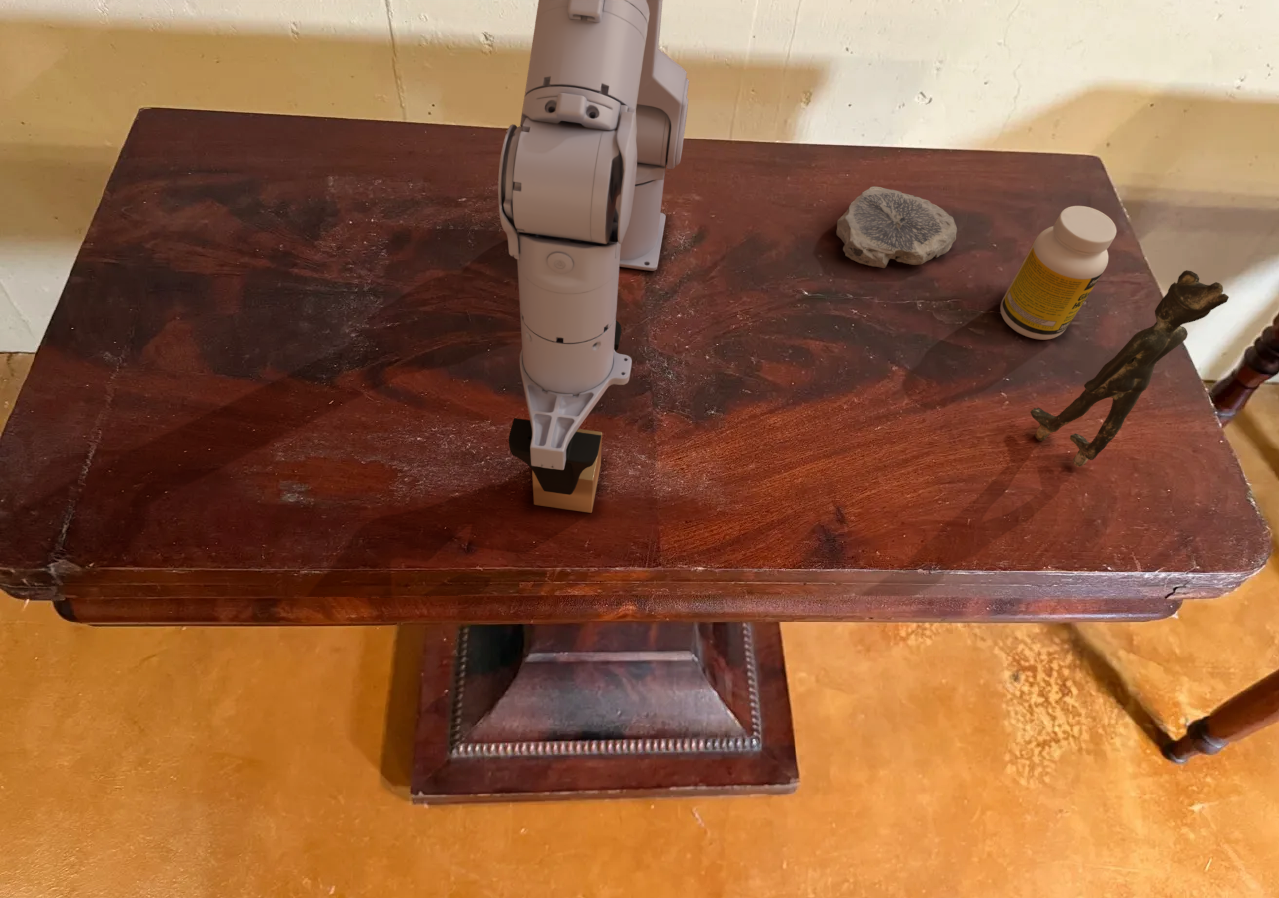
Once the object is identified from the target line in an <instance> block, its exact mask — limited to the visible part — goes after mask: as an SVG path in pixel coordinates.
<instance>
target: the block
mask: <svg viewBox="0 0 1279 898" xmlns="http://www.w3.org/2000/svg"><path fill="white" fill-rule="evenodd" d="M576 432H582V433H589V434H596V435H601V441H600V447H599V452H598V456H597V458H596V460H595V462H594V463H593V465H592V466H590V467H587V468H586V469H584V470H583V471H582V473H581V474H580V477H579V480H578V483H577V485H576V488H575V490H574V491H573V493H572V494H571V495H567V494H560V493H553V492H546V491H544V490H543V489H542V487H541V485H540V483H539V481H538V479H537V477H536V476H535V474H534V472H533V470H532V469H531V475H532V493H533V496H532V497H533V505H535V506H541V507H547V508H555V509H561V510H568V511H573V512H574V511H575V512H580V513H581V512H582V513H590V514H591V513H592V512H593V509H594V504H595V497H596V492H597V487H598V483H599V482H598V481H599V476H600V471H601V462H602V446H603V432H602V431H598V430H589V429H583V428H578V429H577V431H576Z"/></svg>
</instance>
